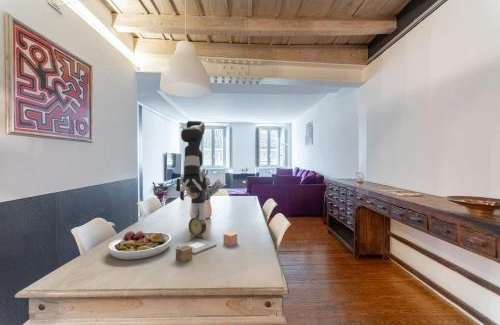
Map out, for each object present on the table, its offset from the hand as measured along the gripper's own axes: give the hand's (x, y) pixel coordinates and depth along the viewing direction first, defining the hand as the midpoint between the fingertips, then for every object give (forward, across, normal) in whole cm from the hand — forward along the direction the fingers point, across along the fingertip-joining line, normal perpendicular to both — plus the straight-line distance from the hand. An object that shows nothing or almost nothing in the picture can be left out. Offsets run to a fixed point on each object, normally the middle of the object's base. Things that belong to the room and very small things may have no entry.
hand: (191, 199), depth 113 cm
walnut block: (+27, +6, -10) cm, 29 cm away
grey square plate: (+22, +4, -25) cm, 34 cm away
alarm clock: (+18, +7, -41) cm, 45 cm away
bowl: (+22, +32, -21) cm, 45 cm away
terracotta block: (+22, -14, -30) cm, 40 cm away
